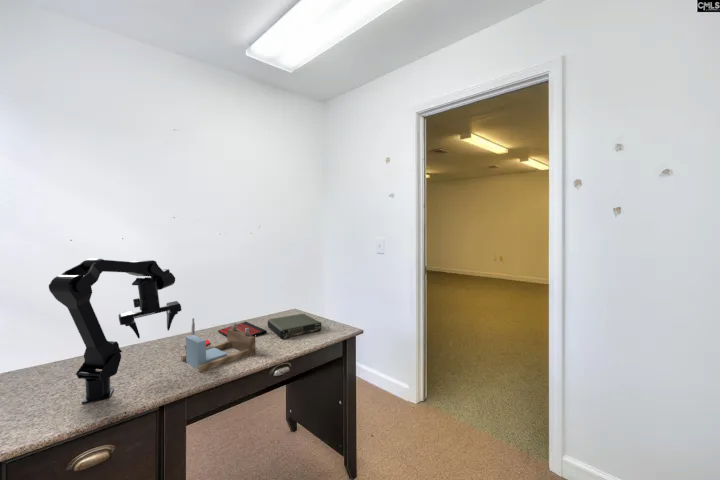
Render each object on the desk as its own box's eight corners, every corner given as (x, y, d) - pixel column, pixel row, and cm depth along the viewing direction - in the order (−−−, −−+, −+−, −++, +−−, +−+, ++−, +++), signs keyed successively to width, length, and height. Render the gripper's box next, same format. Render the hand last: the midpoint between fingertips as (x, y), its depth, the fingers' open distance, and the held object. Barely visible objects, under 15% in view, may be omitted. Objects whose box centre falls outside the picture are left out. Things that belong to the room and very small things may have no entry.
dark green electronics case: (284, 342, 140) (284, 331, 140) (261, 329, 157) (261, 320, 157) (325, 330, 156) (325, 320, 155) (301, 320, 173) (301, 311, 173)
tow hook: (197, 341, 140) (182, 348, 131) (197, 313, 141) (183, 318, 131) (213, 342, 139) (200, 349, 130) (214, 314, 139) (200, 319, 130)
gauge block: (197, 369, 112) (197, 342, 111) (186, 362, 118) (185, 336, 118) (226, 359, 120) (226, 334, 120) (214, 353, 126) (214, 329, 126)
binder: (246, 320, 164) (267, 329, 150) (246, 325, 165) (267, 334, 150) (216, 329, 153) (235, 339, 138) (216, 333, 153) (235, 344, 139)
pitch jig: (201, 373, 109) (200, 345, 108) (180, 359, 120) (179, 334, 119) (255, 353, 126) (255, 329, 125) (232, 343, 137) (232, 321, 136)
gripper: (173, 283, 124) (177, 320, 126) (114, 294, 112) (120, 334, 114) (179, 290, 116) (184, 328, 118) (117, 302, 103) (123, 345, 106)
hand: (153, 334), depth 114 cm, fingers open, 9 cm apart
